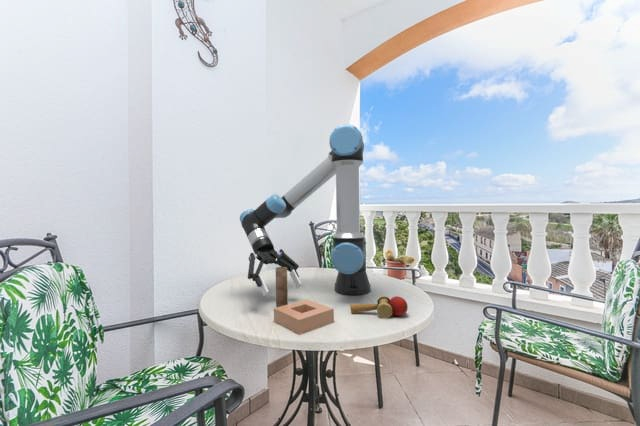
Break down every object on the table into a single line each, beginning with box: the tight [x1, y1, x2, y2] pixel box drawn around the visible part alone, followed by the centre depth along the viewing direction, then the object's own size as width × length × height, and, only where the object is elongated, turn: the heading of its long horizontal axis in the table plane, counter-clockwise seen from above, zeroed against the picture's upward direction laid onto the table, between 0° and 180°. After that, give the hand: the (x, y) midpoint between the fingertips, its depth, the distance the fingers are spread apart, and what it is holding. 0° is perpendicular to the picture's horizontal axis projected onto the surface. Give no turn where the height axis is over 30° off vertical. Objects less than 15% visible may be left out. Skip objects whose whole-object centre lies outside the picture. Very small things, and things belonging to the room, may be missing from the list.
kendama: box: [350, 295, 408, 319], centre depth 94 cm, size 8×6×18 cm
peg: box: [275, 266, 289, 308], centre depth 101 cm, size 4×4×14 cm
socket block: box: [273, 299, 335, 335], centre depth 88 cm, size 13×13×4 cm
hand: (283, 290), depth 100 cm, fingers open, 13 cm apart
